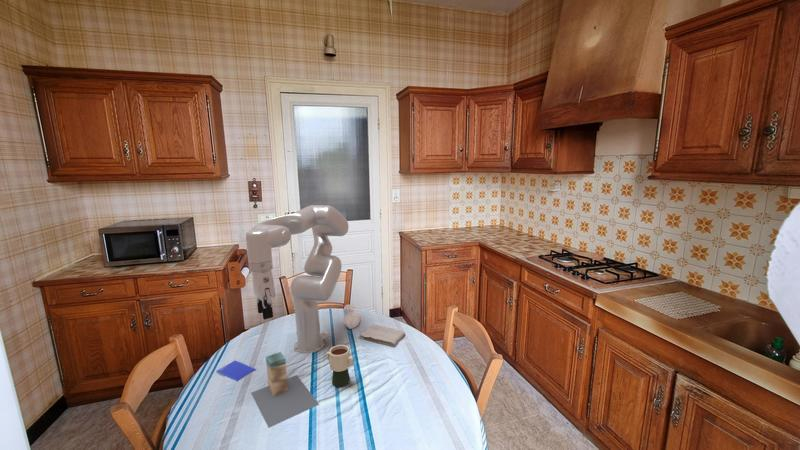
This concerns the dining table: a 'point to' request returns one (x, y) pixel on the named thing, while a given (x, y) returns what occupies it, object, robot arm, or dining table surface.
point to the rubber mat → (284, 402)
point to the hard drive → (235, 370)
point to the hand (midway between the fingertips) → (265, 314)
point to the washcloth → (382, 335)
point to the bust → (351, 317)
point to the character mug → (340, 364)
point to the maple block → (276, 373)
